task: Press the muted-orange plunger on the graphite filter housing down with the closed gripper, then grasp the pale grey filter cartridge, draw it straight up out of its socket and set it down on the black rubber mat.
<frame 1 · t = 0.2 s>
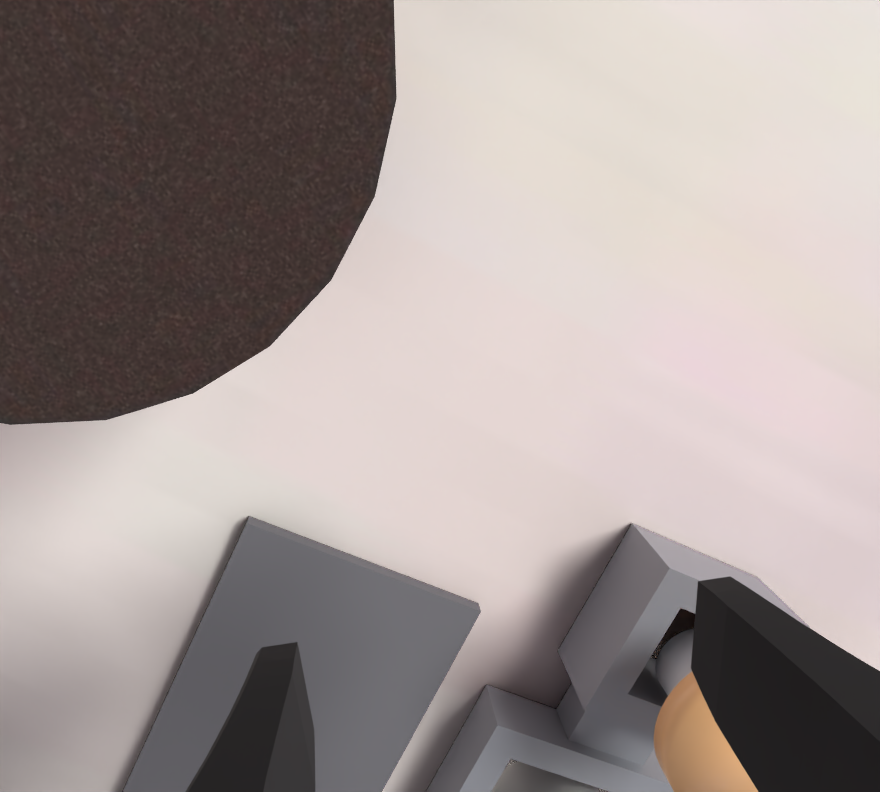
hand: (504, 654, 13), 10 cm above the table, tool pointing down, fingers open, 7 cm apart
plunger: (722, 703, 21), point 5 cm above the table, slide at 0.0 cm
deodorant: (253, 147, 20), on the table
mat: (292, 710, 25), on the table
housing: (594, 717, 26), on the table
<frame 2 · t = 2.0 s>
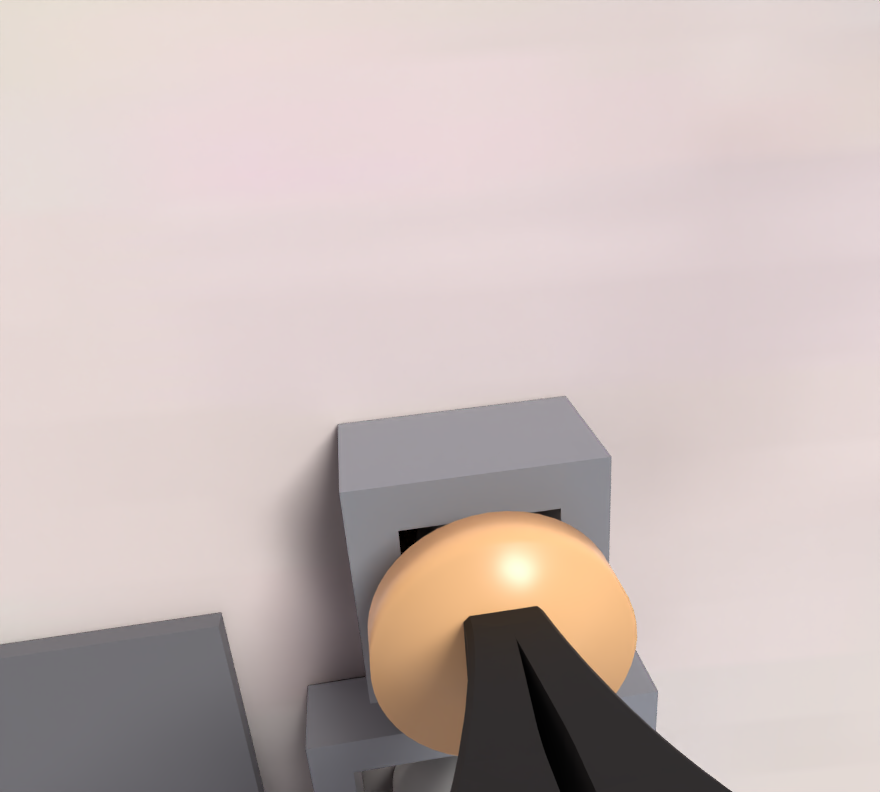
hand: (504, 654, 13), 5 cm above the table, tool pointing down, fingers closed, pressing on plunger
cartridge: (479, 773, 21), resting in housing
plunger: (485, 590, 15), point 3 cm above the table, slide at 1.5 cm, touching gripper
housing: (470, 654, 19), on the table
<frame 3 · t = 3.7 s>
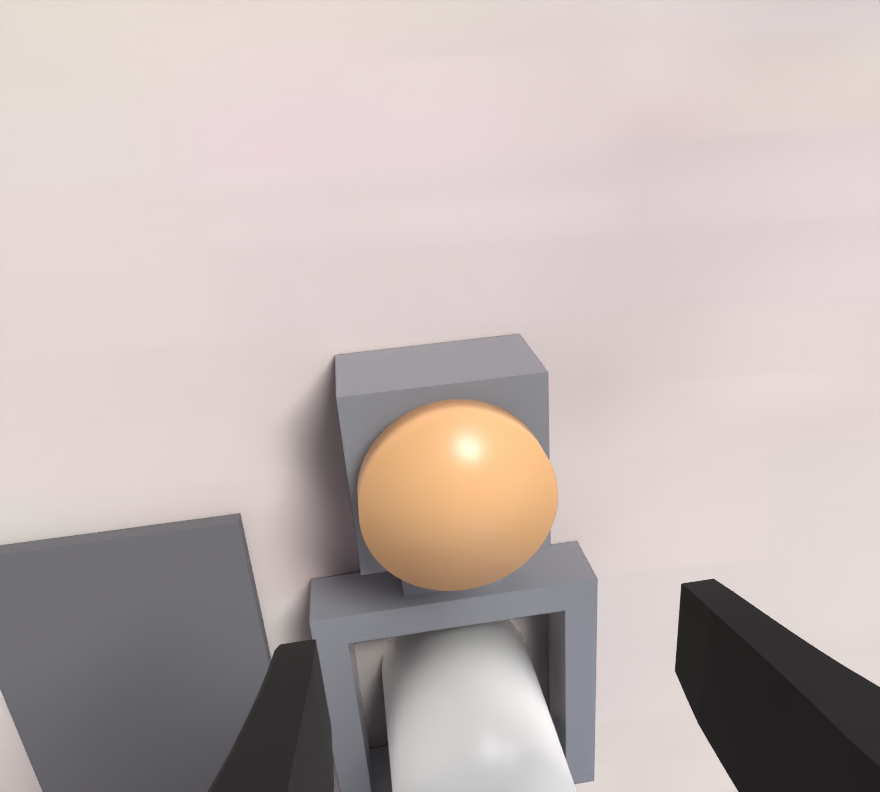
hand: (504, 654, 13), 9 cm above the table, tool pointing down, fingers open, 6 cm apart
cartridge: (454, 662, 25), resting in housing
plunger: (448, 469, 19), point 3 cm above the table, slide at 2.0 cm
mat: (148, 687, 24), on the table
housing: (445, 554, 23), on the table
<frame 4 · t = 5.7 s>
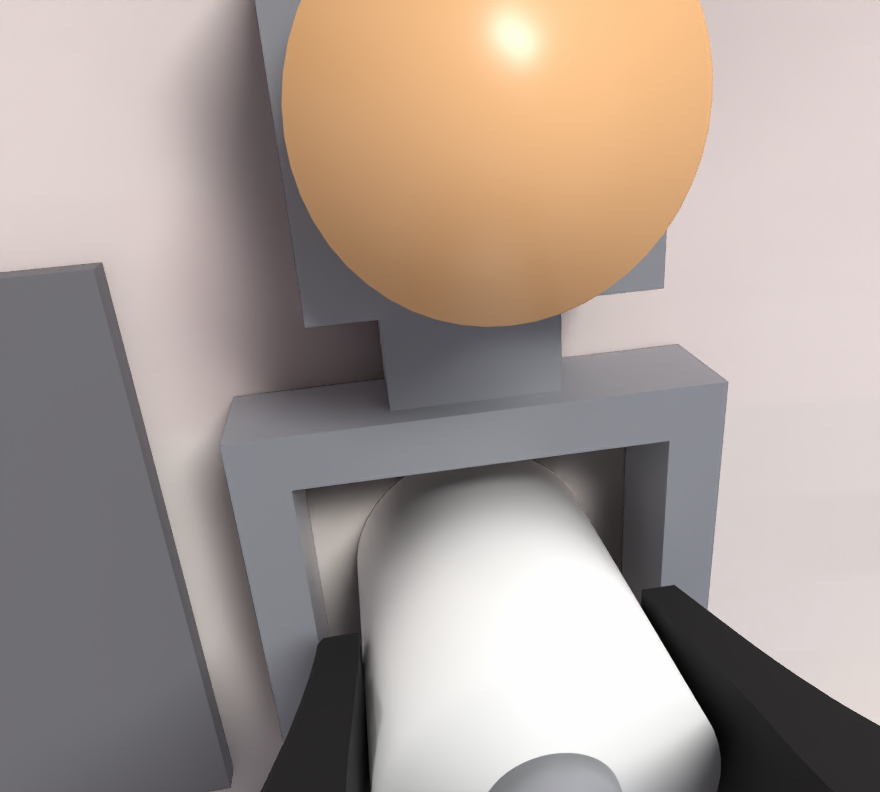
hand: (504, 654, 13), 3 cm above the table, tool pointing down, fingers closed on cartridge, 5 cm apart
cartridge: (474, 554, 16), resting in housing, touching gripper
plunger: (473, 111, 10), point 3 cm above the table, slide at 2.0 cm
housing: (462, 359, 14), on the table
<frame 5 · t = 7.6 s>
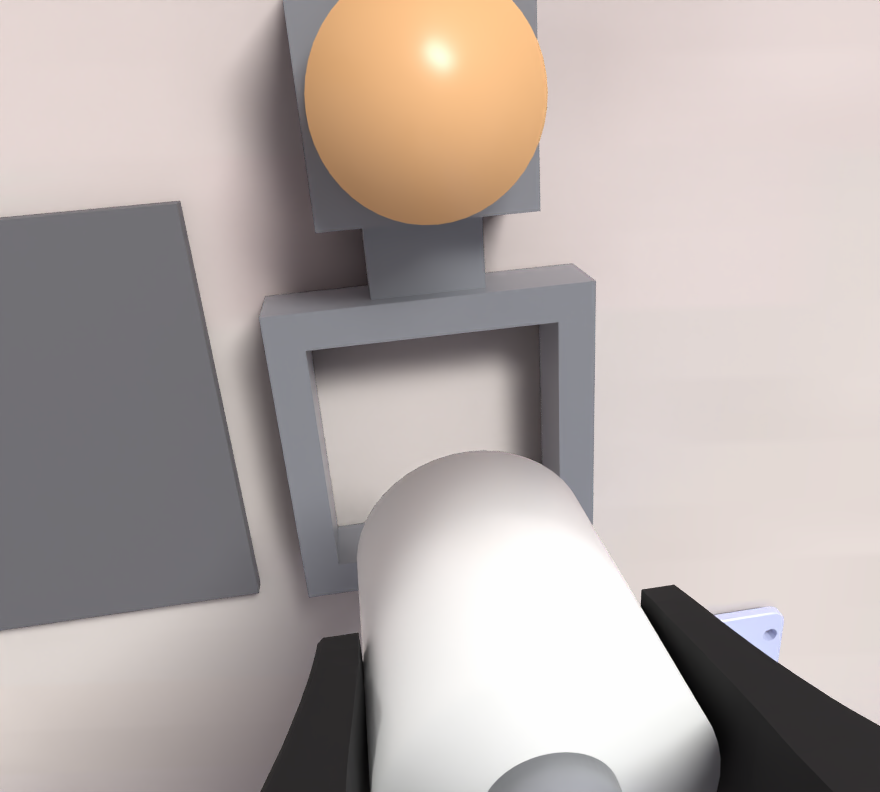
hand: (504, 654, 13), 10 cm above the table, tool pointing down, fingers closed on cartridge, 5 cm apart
cartridge: (474, 554, 16), point 7 cm above the table, touching gripper
plunger: (417, 99, 16), point 3 cm above the table, slide at 2.0 cm
mat: (80, 431, 21), on the table
housing: (421, 272, 20), on the table
when the fingers open (5 cm above the table, at t = 9.8 s): cartridge drops 1 cm, resting on mat.
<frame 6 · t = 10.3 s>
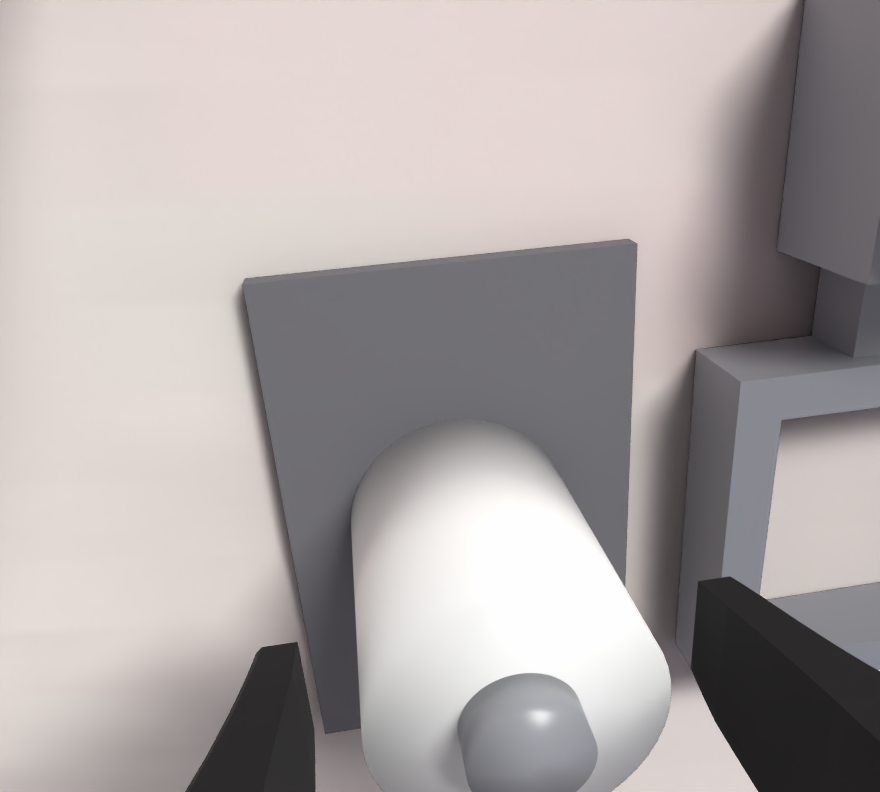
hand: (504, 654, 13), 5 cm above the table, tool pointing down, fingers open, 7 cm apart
cartridge: (459, 516, 17), point 1 cm above the table, touching mat
mat: (459, 506, 18), on the table
housing: (872, 320, 17), on the table
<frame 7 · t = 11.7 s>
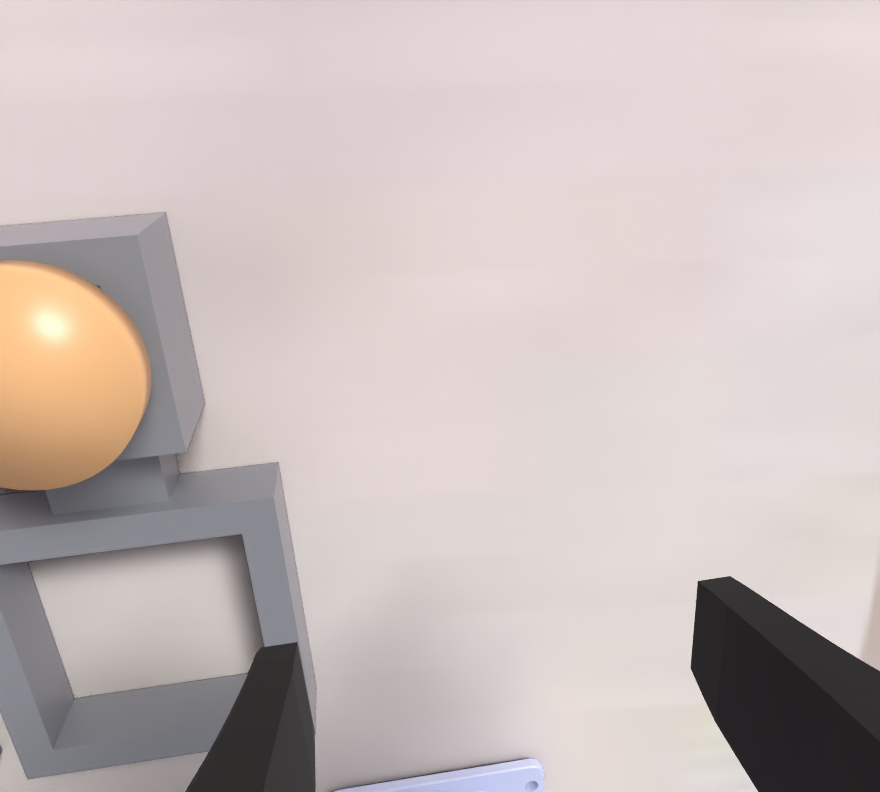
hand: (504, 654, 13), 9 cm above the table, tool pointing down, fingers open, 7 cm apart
plunger: (49, 356, 17), point 3 cm above the table, slide at 2.0 cm
housing: (124, 474, 21), on the table
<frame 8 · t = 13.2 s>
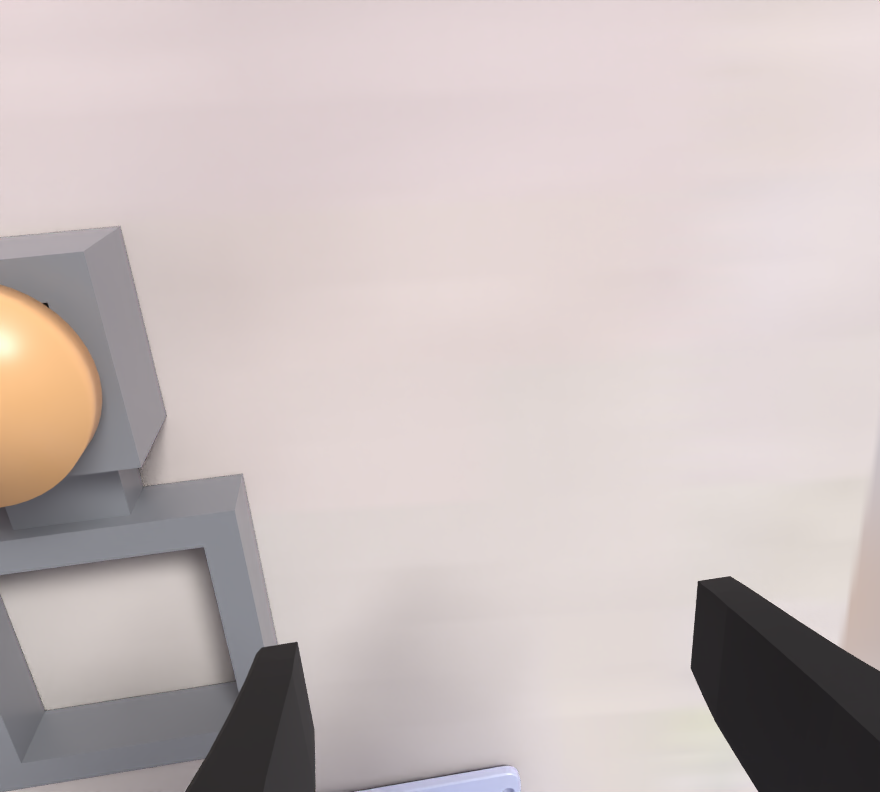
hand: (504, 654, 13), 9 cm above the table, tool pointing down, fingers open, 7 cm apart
plunger: (0, 373, 17), point 3 cm above the table, slide at 2.0 cm
housing: (87, 487, 21), on the table
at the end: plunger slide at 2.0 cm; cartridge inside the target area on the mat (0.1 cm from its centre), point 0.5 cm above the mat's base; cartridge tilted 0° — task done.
